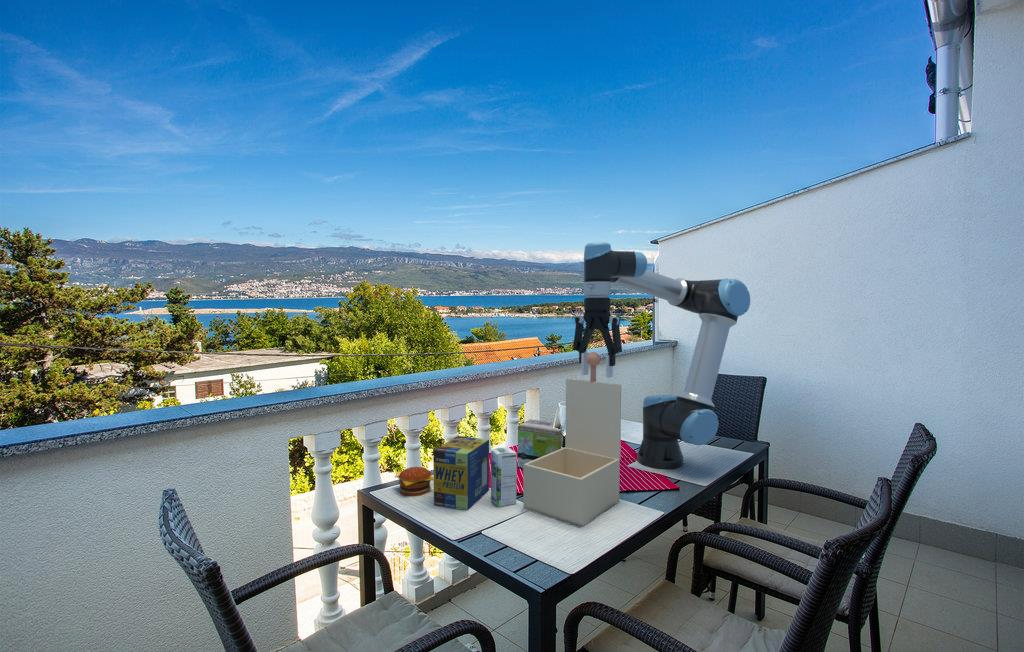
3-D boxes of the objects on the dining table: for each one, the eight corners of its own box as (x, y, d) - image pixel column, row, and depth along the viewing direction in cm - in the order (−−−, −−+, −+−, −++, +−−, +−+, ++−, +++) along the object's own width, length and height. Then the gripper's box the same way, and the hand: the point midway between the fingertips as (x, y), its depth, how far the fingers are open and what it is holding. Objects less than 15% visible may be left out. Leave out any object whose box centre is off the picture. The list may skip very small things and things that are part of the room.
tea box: (516, 468, 163) (516, 424, 162) (529, 460, 172) (529, 418, 171) (558, 476, 156) (558, 430, 155) (570, 466, 165) (570, 423, 164)
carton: (564, 486, 147) (564, 447, 146) (619, 502, 135) (619, 459, 135) (523, 508, 131) (523, 464, 131) (581, 527, 120) (581, 479, 119)
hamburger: (407, 499, 138) (406, 476, 138) (394, 489, 146) (393, 467, 146) (437, 491, 143) (436, 469, 143) (423, 482, 151) (423, 461, 151)
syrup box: (490, 499, 137) (489, 448, 137) (509, 496, 140) (509, 446, 139) (497, 507, 132) (497, 454, 131) (517, 503, 134) (517, 451, 134)
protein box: (433, 505, 134) (432, 449, 133) (458, 485, 148) (457, 435, 147) (467, 511, 130) (467, 453, 129) (490, 490, 144) (490, 438, 144)
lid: (563, 448, 145) (570, 445, 148) (616, 460, 134) (623, 456, 137) (563, 350, 144) (571, 349, 147) (618, 354, 133) (624, 353, 136)
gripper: (560, 297, 144) (560, 374, 145) (623, 296, 131) (622, 381, 133) (574, 297, 150) (574, 371, 151) (635, 296, 137) (635, 377, 138)
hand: (596, 375), depth 142 cm, fingers open, 7 cm apart
